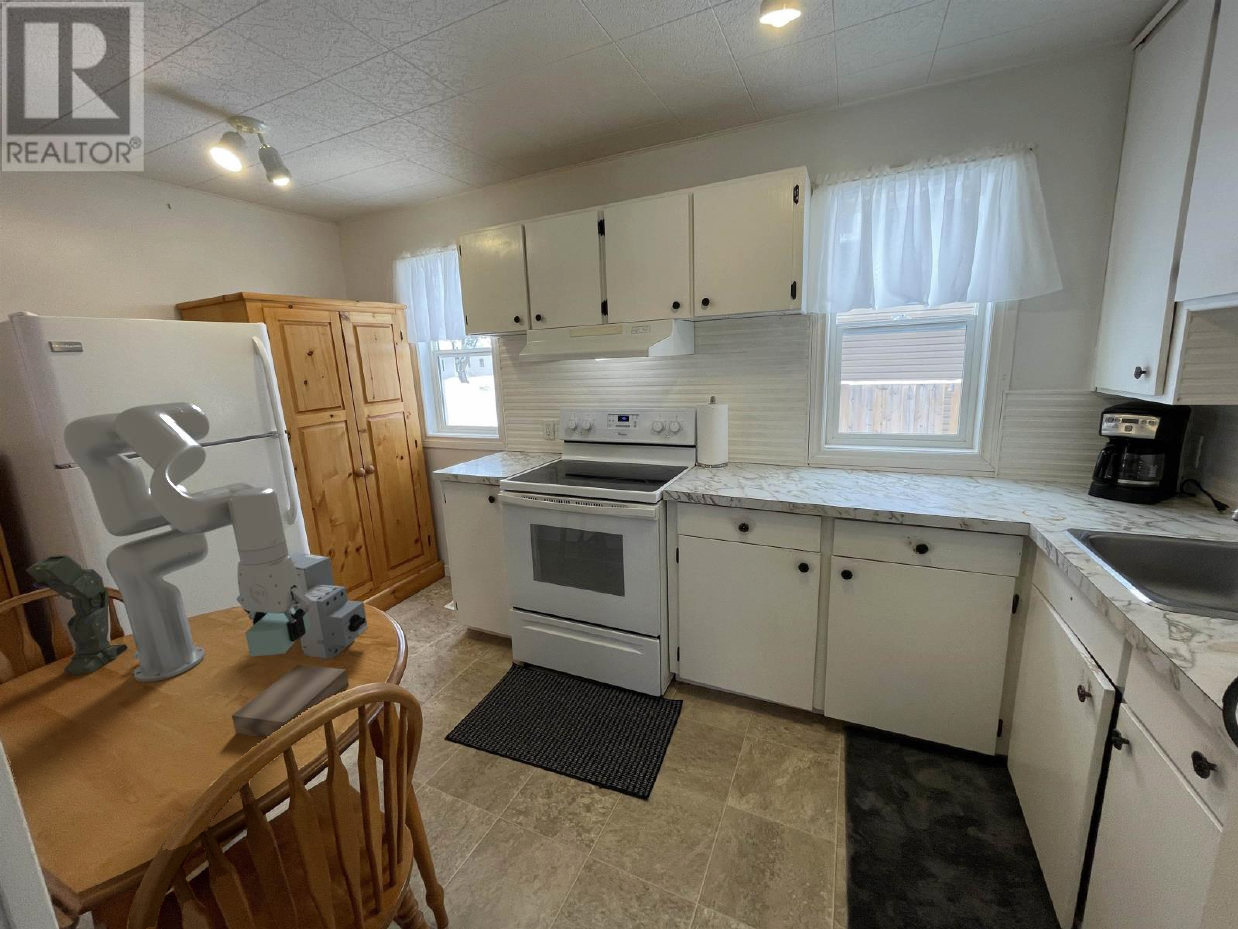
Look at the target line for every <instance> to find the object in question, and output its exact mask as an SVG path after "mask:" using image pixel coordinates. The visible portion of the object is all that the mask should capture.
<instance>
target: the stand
mask: <svg viewBox="0 0 1238 929" xmlns="http://www.w3.org/2000/svg"><path fill="white" fill-rule="evenodd" d="M347 673H348V672H347V669H345V668H335V667H325V666H316V665H305V664H297V665H296V666H295V667H293V668H292V669H291V670H289V671H288V672H287V673H285V674H284V675H282V676H281V677H280V678H279V679H278V680H276V681H275V682H273V684H271V685H270V686H269V687H267V688H266V689H264V690H263V691H262V692H261V693H259V694H257V696H255V697H254V698H253V699H251V700H250V701H249V702H247V703H246V704H244V705H243V706H242V707H241V708H239V709H238V710H236V711H235V712H234V713H232V715H231V718H232V722H233V727H234V730H235V733H236V734H237V735H238V734H240V735H246V736H254V737H259V738H267V736H270V735H271V734H272V733H273V732H275V731H277V730H278V729H280V728H281V726H284V725H285V724H287V723H288V722H290V721H291V720H292V719H295V718H296V717H298V715H301V713H302V712H305V711H306V710H308V708H311V707H312V706H314V705H317V704H319V703H320V702H322V701H323V700H325V699H326V698H329V697H331V696H332V695H336V694H337V693H339V692H341V691H342V692H344V691H345V689H347V688H348V687H349V686H350V685H349V680H348V679H349V678H348V674H347ZM342 692H341V693H342Z"/></svg>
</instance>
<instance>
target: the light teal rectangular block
mask: <svg viewBox="0 0 1238 929" xmlns="http://www.w3.org/2000/svg"><path fill="white" fill-rule="evenodd" d="M299 605H300V604H299ZM290 610H291V612H292V613H293V615H294V613H295V612H296V611H295V610H294V608H291V609H290ZM303 621H304V626H305V631H306V630H307V629H308V628H309V627H310V621H309V616H308V611H307V612H306V613H305V616H303ZM287 623H289V620H288V619H287V617H286V616H285V614H284V613H280V614H277V613H267V614H266V615H265V616H264V617H263V618H261V619H260V620H259V621H258V622H257V623H256V624H255V625H253V624H252V626H251V627H250V628H249V629H248V630H246V631H245V632H244V633H245V637H246V642H247V647H248V651H249V656H250V657H260V656H261V657H262V656H273V655H284V654H286V653H287V651H288V650H289V649H290V648H291V647H292V646H293V645H294V644H295V643H296V642H297V640H296V641H294V642H292V641H291V640H290V636H289V631H288V626H287Z"/></svg>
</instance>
